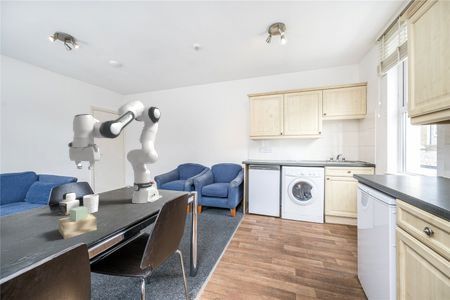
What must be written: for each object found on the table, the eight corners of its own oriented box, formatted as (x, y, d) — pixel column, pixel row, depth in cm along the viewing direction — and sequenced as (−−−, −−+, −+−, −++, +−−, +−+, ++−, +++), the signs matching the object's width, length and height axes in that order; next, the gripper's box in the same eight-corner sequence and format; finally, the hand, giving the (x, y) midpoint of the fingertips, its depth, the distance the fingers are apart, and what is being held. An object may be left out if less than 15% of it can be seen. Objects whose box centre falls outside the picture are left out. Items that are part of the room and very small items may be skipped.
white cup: (90, 214, 110) (90, 197, 109) (79, 213, 111) (79, 197, 111) (101, 210, 117) (101, 194, 117) (91, 209, 119) (91, 193, 119)
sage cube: (81, 216, 92) (81, 206, 92) (87, 217, 90) (87, 207, 90) (69, 219, 87) (69, 209, 87) (76, 221, 85) (76, 210, 85)
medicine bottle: (58, 213, 111) (58, 194, 110) (71, 210, 117) (71, 191, 117) (66, 215, 108) (66, 195, 108) (79, 211, 115) (79, 192, 115)
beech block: (89, 223, 97) (89, 212, 97) (96, 230, 89) (96, 218, 89) (59, 231, 88) (58, 219, 87) (64, 239, 80) (64, 226, 80)
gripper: (103, 143, 98) (104, 169, 98) (78, 144, 105) (79, 167, 106) (90, 143, 92) (91, 171, 92) (66, 144, 99) (67, 169, 100)
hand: (85, 169), depth 99 cm, fingers open, 8 cm apart
